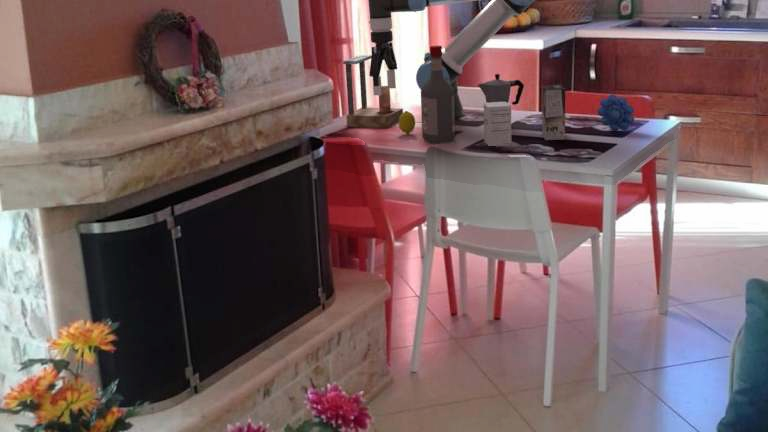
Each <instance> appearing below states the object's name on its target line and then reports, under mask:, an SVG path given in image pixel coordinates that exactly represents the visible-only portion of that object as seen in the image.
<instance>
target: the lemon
mask: <svg viewBox="0 0 768 432" xmlns="http://www.w3.org/2000/svg"><path fill="white" fill-rule="evenodd" d="M398 126H399V130H400V131H401V132H402V133H404V134H405V135H409V134H410V133H412V132H413V131H414V130H415V127H416V118H415V116H414V114H413V113H412V112H410V111H408V110H405V111H403V113H402V114H401V115H400V117H399V122H398Z"/></svg>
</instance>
